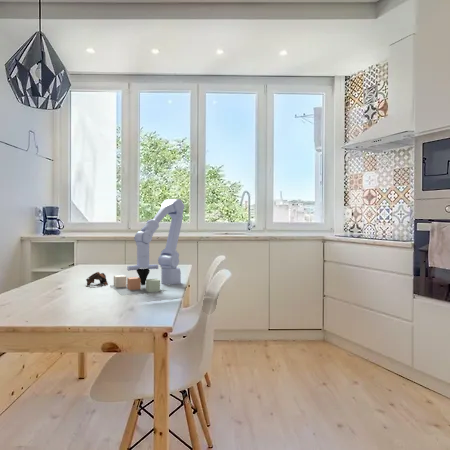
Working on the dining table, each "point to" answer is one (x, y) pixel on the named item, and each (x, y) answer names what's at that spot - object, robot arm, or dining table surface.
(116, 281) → the cream cube
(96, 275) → the dark brown arched piece
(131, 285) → the terracotta cube
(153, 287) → the sage cube
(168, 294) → the dining table surface
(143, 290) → the board
